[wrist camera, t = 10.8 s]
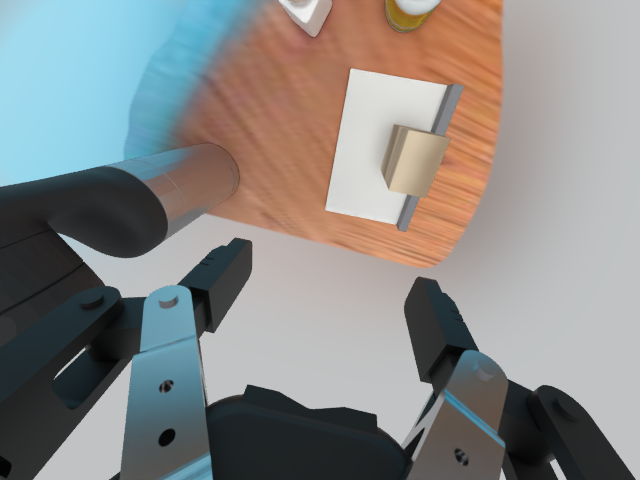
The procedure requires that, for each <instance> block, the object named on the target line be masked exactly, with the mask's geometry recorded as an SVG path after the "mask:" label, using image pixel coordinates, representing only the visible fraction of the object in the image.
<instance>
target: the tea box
mask: <svg viewBox="0 0 640 480" xmlns="http://www.w3.org/2000/svg"><path fill="white" fill-rule="evenodd" d="M450 140H451V138H448V137H445V136H442V135H439V134H435V133H432V132H429V131H426V130H422V129H417V128H412V127H407V126H402V125H397V124H394V126H393V129H392V133H391V136H390V139H389V142H388V146H387V149H386V152H385V156H384V159H383V162H382V166H381V169H380V170H381V172H382V175H383V177H384V180H385V182H386V185H387V187H388V190H389V191H393V192H398V193H403V194H408V195H413V196H417V197H422V198H426V196H427V193H428V191H429V189H430V186H431V184H432V182H433V179H434V177H435V175H436V172H437V170H438V168H439V165H440V163H441V161H442V158H443V156H444V154H445V151H446V149H447V147H448V144H449V142H450Z"/></svg>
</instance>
